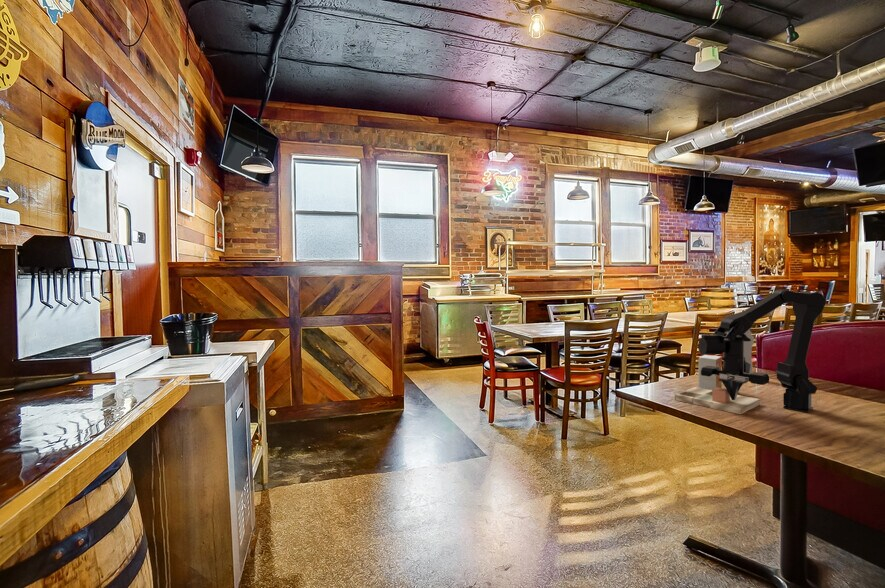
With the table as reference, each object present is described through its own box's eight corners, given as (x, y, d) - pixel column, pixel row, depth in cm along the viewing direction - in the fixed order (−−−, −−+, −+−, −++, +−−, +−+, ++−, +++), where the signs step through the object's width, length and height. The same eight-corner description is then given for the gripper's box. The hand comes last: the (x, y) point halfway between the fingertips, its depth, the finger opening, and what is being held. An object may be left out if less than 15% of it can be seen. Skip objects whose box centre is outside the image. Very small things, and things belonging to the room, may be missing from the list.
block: (729, 400, 148) (729, 389, 148) (725, 403, 146) (725, 391, 146) (717, 398, 151) (717, 387, 151) (712, 400, 149) (712, 389, 149)
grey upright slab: (752, 377, 187) (753, 327, 186) (754, 379, 183) (754, 328, 182) (723, 375, 192) (724, 326, 191) (724, 377, 188) (724, 327, 187)
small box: (716, 392, 165) (716, 359, 165) (698, 389, 170) (698, 357, 169) (722, 388, 171) (722, 356, 170) (704, 385, 176) (704, 354, 175)
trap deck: (759, 404, 150) (759, 399, 149) (740, 414, 140) (740, 408, 140) (695, 392, 167) (695, 387, 167) (674, 399, 158) (674, 394, 158)
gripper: (775, 354, 142) (775, 401, 143) (713, 348, 158) (713, 390, 158) (762, 359, 136) (762, 407, 136) (699, 351, 151) (699, 395, 152)
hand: (733, 399), depth 146 cm, fingers closed
